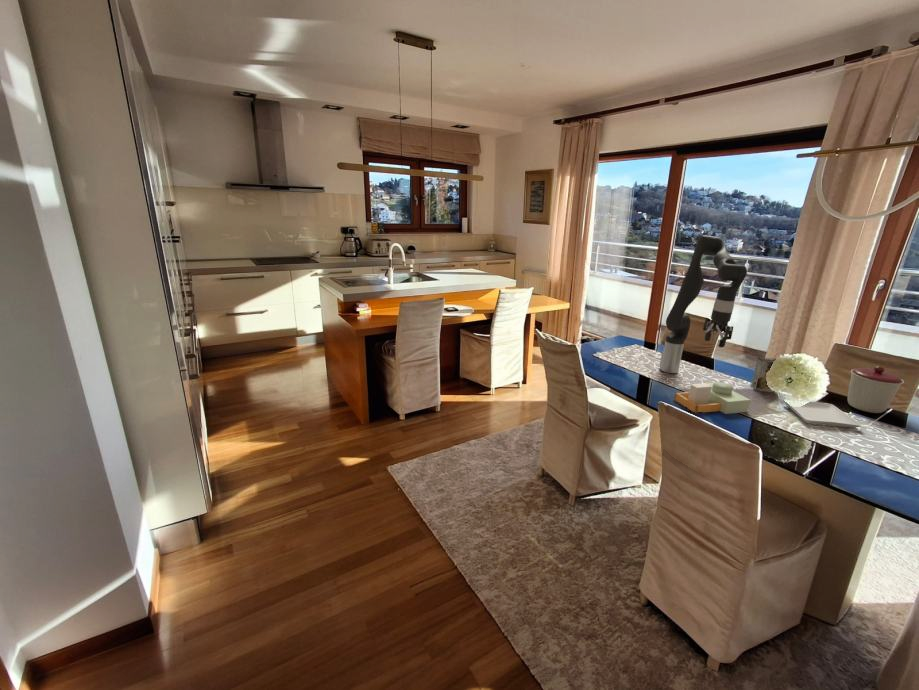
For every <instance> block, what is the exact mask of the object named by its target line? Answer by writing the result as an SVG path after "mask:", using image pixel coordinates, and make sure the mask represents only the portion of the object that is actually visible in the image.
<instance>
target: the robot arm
mask: <svg viewBox="0 0 919 690" xmlns="http://www.w3.org/2000/svg"><path fill="white" fill-rule="evenodd" d="M695 244H696V245H695V247H694V250H693V253H692V256H691V260H690V262H689V263H690V264H689V265H688V266H689V267H688V269H687V271H686V274H685V276H684V278H683V281H682V283H681V286H680V287H679V288H680V289H679V291H678V294H677V296H676V298H675V301H674V303H673V305H672V307H671V309H670V311H669V312H668V314H667V316H666V320H665V326H666V328H667V330H669V331H671V332H670V333H668V334H667V335H666V337H665V341H664V342H665V343H664V347H663V352H662V353H661V356H660V361H659V362H660V363H659V366H658V368H659V367H660V368H659V370H660V369H661V370H662V371H664V372H663V373H665V372H667V373H666V374H669V373H677V374H678V373H679V369H680V366H681V360H682V355H683V350H684V345H685V342H686V339H687V337H688V334H689V331H690V327H691V317H690V315H688V314H687V313H686V310H687V309H688V307H689V306H690V305H691V304H692V303H693V302H694V301H695V300H696V298H697V297H698V296H699V295H700V293H701V289H702V288H703V286H704V282H705V279H704V274H703V271H702V268H701V266H702V265H701V263H702V262H701V261H702V257H703V255H704V256H710V257H713V259H712V261H713V265H714V266H715V268H716V269H717V277H718V279H720V280H721V281H725V282H730V283H729V284H726V285H721V286H719V288H718V290H717V294H716V298H715V300H714V303H713V307H712V311H711V315H710V317H707V318H705V321H704V324H703V327H702V330H703V331H704V332H705V334H704V335H705V336H704V341H705V342H710V341H711V337H712V333H713V332H716V333H718V335H719V337H720V340H719V344H718V348H724V347H725V345H726V342H727V341H728V340H732V336H733V332H734V326H731V325H729V324H728V323H729V322H730V321H731V319H732V314H733V311H734V308H735V301H736V297H737V293H738V290H739V289H740V287H741V285H742V284H743V282H744V280H746V277H747V275H748V268H747V267H746V265H743V264H736V261H735V259H733V258H732V256H731V255H730V254H729V251H728V249H727V246H726V243H725V241H724V239H722V237H718V236H715V235H714V236H713V235H703V234H702V235H701V236H700V237H699V238H698V239H697V242H696V243H695ZM661 370H660V371H661ZM662 371H661V372H662Z"/></svg>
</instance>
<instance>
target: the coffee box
mask: <svg viewBox="0 0 919 690" xmlns="http://www.w3.org/2000/svg"><path fill="white" fill-rule="evenodd" d="M776 359H777V358H775V357H774V358H773V357H762V356H761V357H760V356H758V357H757V360H756V364H755V368H754V372H753V375H752V376H753V377H752V380H751V384H750V386H751V387H752V389H753V390H754V391H759V392H767V393H768V392H769V393H774V392H773V391H772V390H771V389H770V388H769V387H768V385H767V381H766V373H767V372H768V371H769V370H770V368H771V366H772V364H773V362H774V361H775V360H776Z"/></svg>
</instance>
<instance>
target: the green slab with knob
mask: <svg viewBox="0 0 919 690" xmlns="http://www.w3.org/2000/svg"><path fill="white" fill-rule="evenodd" d="M705 383H706V384H708V385H710V386H712V389H711V394H710V398H709V402H708V404H703V405H696V404H695V403H693V402H692V401H690V400H688V395H689V391H685V392H684V391H683V392H675V394H674V398H673V400H674V401H675V402H677V403H679V404H680V405H682V406H683V407H685V408H686V407H687V408H686V409H688V410H690V411H691V412H693V413H694V412H695V413H694V414H698V413H697V412H703V413H711V412H721V413H722V414H725V415H727V414H728V415H729V414H738V413H748V410H749V407H750V403H751V399H750V398H748V397H746V396H744V395H742V394H740V393H738V392H737V391H734V390H733V389H734V387H733V386H732V385H731V384H729V383H727V382H719V381H715V382H705ZM699 384H701V383H699Z"/></svg>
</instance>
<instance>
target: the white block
mask: <svg viewBox="0 0 919 690" xmlns="http://www.w3.org/2000/svg"><path fill="white" fill-rule="evenodd" d="M706 383H707V382H702V383H701V384H700V383H692V384H690V387H689V391H688V392H689V395H688V400H690V401H692V402H693V403H695V404H696V405H703V404H708V402H709V398H710V394H711V389H712V386H710V385H708V384H706Z"/></svg>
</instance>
